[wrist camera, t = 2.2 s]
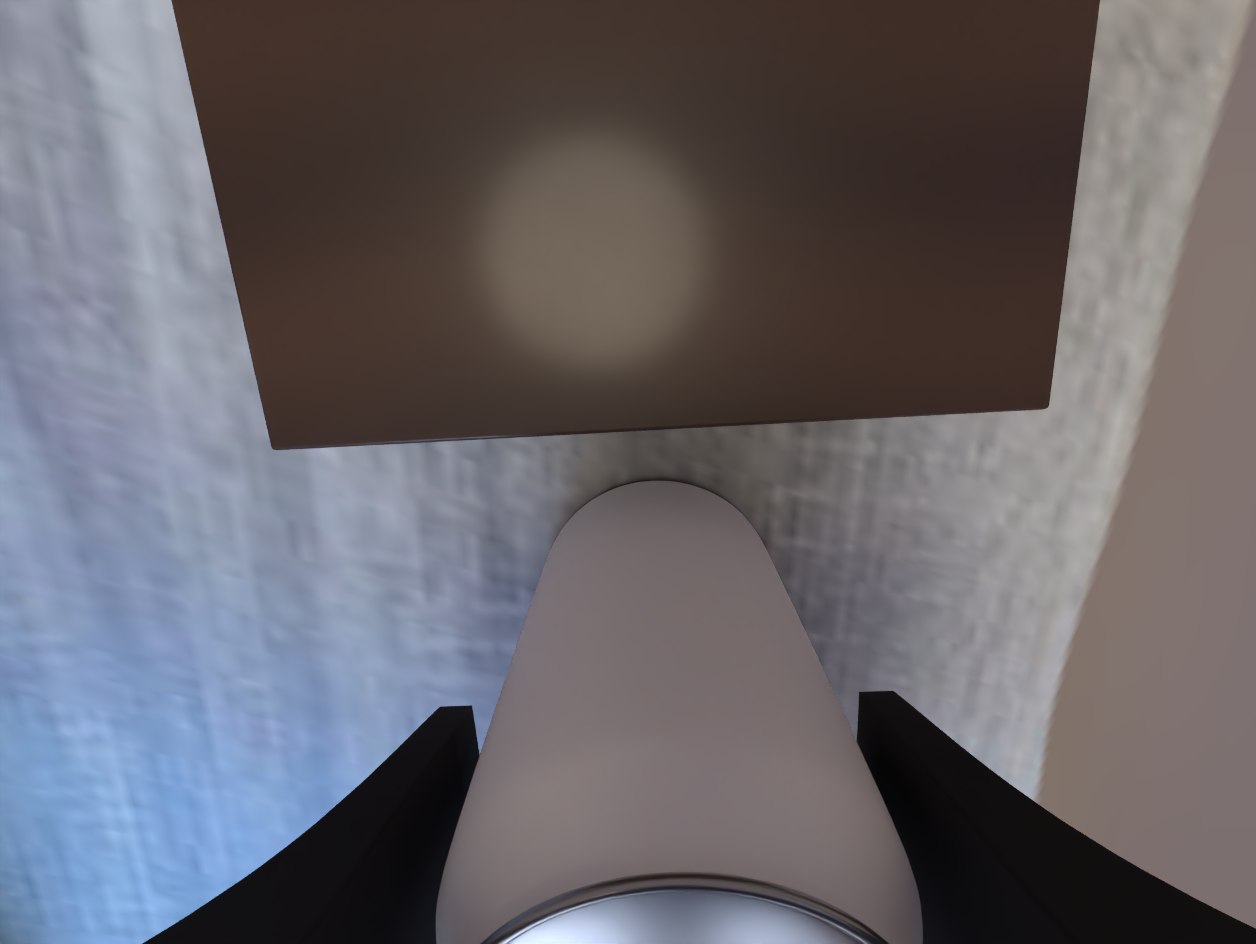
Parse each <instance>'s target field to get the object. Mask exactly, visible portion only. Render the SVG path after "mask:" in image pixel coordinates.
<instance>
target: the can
mask: <svg viewBox="0 0 1256 944" xmlns="http://www.w3.org/2000/svg"><path fill="white" fill-rule="evenodd" d="M436 944H923V925H922V913H921V904H920V897H919V893H918V888H917V885H916V882H915V878H914V875H913V872H912V869H911V866H910V863H909V860H908V857H907V855H906V852H905V849H904V847H903V845H902V842H901V840H900V838H899V835H898V833H897V830H896V828H895V826H894V823H893V821H892V819H891V816H890V814H889V812H888V809H887V807H886V805H885V803H884V801H883V798H882V796H881V794H880V792H879V790H878V787H877V785H876V783H875V781H874V779H873V776H872V774H871V772H870V770H869V768H868V765H867V763H866V761H865V759H864V756H863V754H862V752H861V750H860V748H859V746H858V743H857V741H856V739H855V737H854V735H853V733H852V730H851V728H850V726H849V724H848V722H847V720H846V717H845V715H844V713H843V711H842V709H841V707H840V704H839V702H838V700H837V698H836V696H835V694H834V692H833V689H832V687H831V685H830V683H829V681H828V679H827V676H826V674H825V672H824V670H823V668H822V666H821V664H820V661H819V659H818V657H817V655H816V653H815V651H814V649H813V646H812V644H811V642H810V640H809V638H808V636H807V634H806V631H805V629H804V627H803V625H802V623H801V621H800V619H799V617H798V614H797V612H796V610H795V608H794V606H793V604H792V602H791V600H790V597H789V595H788V593H787V591H786V589H785V587H784V585H783V583H782V581H781V578H780V576H779V574H778V572H777V570H776V568H775V566H774V564H773V562H772V560H771V558H770V556H769V554H768V552H767V550H766V548H765V546H764V544H763V542H762V540H761V538H760V537H759V535H758V533H757V532H756V530H755V529H754V528H753V526H752V525H751V524H750V522H749V521H748V520H747V519H746V518H745V517H744V516H743V515H742V514H741V513H740V512H739V511H738V510H737V509H736V508H735V507H734V506H732V505H731V504H730V503H728V502H727V501H725V500H724V499H722V498H721V497H719V496H717V495H715V494H713V493H711V492H709V491H707V490H704V489H702V488H699V487H696V486H693V485H689V484H685V483H680V482H673V481H644V482H637V483H632V484H627V485H624V486H621V487H618V488H615V489H612V490H610V491H608V492H605V493H603V494H601V495H599V496H598V497H596V498H594V499H593V500H591V501H590V502H588V503H587V504H586V505H584V506H583V507H582V508H581V509H579V510H578V511H577V512H576V513H575V514H574V515H573V516H572V517H571V518H570V519H569V520H568V522H567V523H566V524H565V525H564V527H563V528H562V530H561V531H560V533H559V534H558V536H557V538H556V539H555V541H554V543H553V545H552V547H551V550H550V552H549V555H548V557H547V560H546V562H545V565H544V568H543V571H542V574H541V576H540V579H539V582H538V585H537V588H536V591H535V594H534V597H533V599H532V602H531V605H530V608H529V611H528V614H527V617H526V620H525V623H524V626H523V629H522V632H521V634H520V637H519V640H518V643H517V646H516V649H515V652H514V655H513V658H512V661H511V664H510V667H509V670H508V673H507V676H506V679H505V682H504V685H503V688H502V691H501V694H500V696H499V699H498V702H497V705H496V708H495V711H494V714H493V717H492V720H491V723H490V726H489V729H488V732H487V735H486V738H485V741H484V744H483V747H482V750H481V753H480V756H479V759H478V762H477V765H476V768H475V771H474V774H473V777H472V780H471V783H470V787H469V790H468V793H467V796H466V799H465V802H464V805H463V808H462V811H461V814H460V817H459V820H458V823H457V826H456V830H455V833H454V836H453V840H452V843H451V846H450V850H449V853H448V857H447V860H446V863H445V867H444V871H443V875H442V880H441V885H440V890H439V894H438V900H437V907H436Z"/></svg>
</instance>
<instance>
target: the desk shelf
mask: <svg viewBox="0 0 1256 944" xmlns="http://www.w3.org/2000/svg"><path fill="white" fill-rule="evenodd" d="M1099 3H1100V0H172V5H173V9H174V13H175V18H176V22H177V27H178V31H179V36H180V40H181V45H182V49H183V54H184V58H185V63H186V67H187V72H188V76H189V81H190V85H191V89H192V94H193V98H194V103H195V107H196V112H197V116H198V121H199V125H200V130H201V134H202V139H203V143H204V148H205V152H206V156H207V161H208V165H209V170H210V174H211V179H212V183H213V188H214V192H215V197H216V201H217V206H218V210H219V215H220V219H221V224H222V228H223V232H224V237H225V241H226V246H227V250H228V255H229V259H230V264H231V268H232V273H233V277H234V282H235V286H236V291H237V295H238V299H239V304H240V308H241V313H242V317H243V322H244V326H245V331H246V335H247V340H248V344H249V349H250V353H251V358H252V362H253V366H254V371H255V375H256V380H257V384H258V389H259V393H260V398H261V402H262V407H263V411H264V416H265V420H266V425H267V429H268V434H269V438H270V442H271V447H272V448H273V449H274V450H290V449H309V448H327V447H346V446H365V445H384V444H403V443H421V442H440V441H459V440H478V439H496V438H515V437H534V436H553V435H571V434H590V433H609V432H628V431H647V430H665V429H684V428H703V427H722V426H740V425H759V424H778V423H797V422H815V421H834V420H853V419H872V418H891V417H909V416H928V415H947V414H966V413H984V412H1003V411H1022V410H1041V409H1045V408H1048V406H1049V400H1050V392H1051V384H1052V377H1053V369H1054V361H1055V353H1056V345H1057V337H1058V329H1059V321H1060V313H1061V305H1062V297H1063V289H1064V281H1065V273H1066V265H1067V257H1068V249H1069V241H1070V233H1071V225H1072V217H1073V210H1074V202H1075V194H1076V186H1077V178H1078V170H1079V162H1080V154H1081V146H1082V138H1083V130H1084V122H1085V114H1086V106H1087V98H1088V90H1089V82H1090V74H1091V66H1092V58H1093V50H1094V43H1095V35H1096V27H1097V19H1098V11H1099Z"/></svg>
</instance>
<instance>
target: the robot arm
mask: <svg viewBox="0 0 1256 944" xmlns="http://www.w3.org/2000/svg"><path fill="white" fill-rule="evenodd" d="M857 743H858V746H859V748H860V750H861V752H862V754H863V756H864V759H865V761H866V763H867V765H868V768H869V770H870V772H871V774H872V776H873V779H874V781H875V783H876V785H877V787H878V790H879V792H880V794H881V796H882V798H883V801H884V803H885V805H886V807H887V809H888V812H889V814H890V816H891V819H892V821H893V823H894V826H895V828H896V830H897V833H898V835H899V838H900V840H901V842H902V845H903V847H904V849H905V852H906V855H907V857H908V860H909V863H910V866H911V869H912V872H913V875H914V878H915V882H916V885H917V888H918V893H919V897H920V904H921V913H922V925H923V944H1256V929H1255V928H1253V927H1251V926H1249V925H1247V924H1245V923H1243V922H1241V921H1239V920H1236V919H1234V918H1233V917H1230V916H1229V915H1227V914H1225V913H1222V912H1221V911H1219V910H1217V909H1214V908H1213V907H1211V906H1209V905H1207V904H1205V903H1203V902H1201V901H1199V900H1197V899H1195V898H1193V897H1191V896H1190V895H1188V894H1186V893H1184V892H1182V891H1180V890H1178V889H1177V888H1175V887H1173V886H1171V885H1169V884H1168V883H1166V882H1164V881H1162V880H1160V879H1158V878H1156V877H1155V876H1153V875H1151V874H1149V873H1147V872H1145V871H1144V870H1142V869H1140V868H1139V867H1137V866H1135V865H1133V864H1132V863H1130V862H1128V861H1126V860H1125V859H1123V858H1121V857H1120V856H1118V855H1116V854H1114V853H1113V852H1111V851H1109V850H1108V849H1106V848H1105V847H1103V846H1102V845H1100V844H1098V843H1097V842H1095V841H1094V840H1092V839H1090V838H1089V837H1087V836H1086V835H1084V834H1082V833H1081V832H1079V831H1077V830H1076V829H1074V828H1073V827H1071V826H1069V825H1068V824H1066V823H1065V822H1063V821H1062V820H1060V819H1059V818H1057V817H1056V816H1054V815H1053V814H1051V813H1050V812H1048V811H1047V810H1045V809H1044V808H1043V807H1041V806H1040V805H1038V804H1037V803H1036V802H1034V801H1033V800H1031V799H1030V798H1029V797H1027V796H1026V795H1024V794H1023V793H1022V792H1020V791H1019V790H1017V789H1016V788H1015V787H1013V786H1012V785H1010V784H1009V783H1008V782H1006V781H1005V780H1004V779H1002V778H1001V777H1000V776H998V775H997V774H996V773H994V772H993V771H992V770H990V769H989V768H988V767H986V766H985V765H984V764H983V763H981V762H980V761H979V760H977V759H976V758H975V757H974V756H972V755H971V754H970V753H969V752H967V751H966V750H965V749H964V748H962V747H961V746H960V745H959V744H957V743H956V742H955V741H954V740H952V739H951V738H950V737H949V736H947V735H946V734H945V733H944V732H943V731H941V730H940V729H939V728H938V727H937V726H935V725H934V724H933V723H932V722H931V721H929V720H928V719H927V718H926V717H925V716H923V715H922V714H921V713H920V712H919V711H917V710H916V709H915V708H914V707H913V706H911V705H910V704H909V703H908V702H907V701H905V700H904V699H903V698H902V697H900V696H899V695H898V694H897V693H895V692H894V691H874V692H859V708H858V729H857ZM478 759H479V749H478V742H477V736H476V729H475V723H474V716H473V709H472V706H447V707H439V708H438V709H437V710H436V711H435V712H434V713H433V714H432V715H431V716H430V717H429V718H428V719H427V720H426V721H425V722H424V723H423V724H422V725H421V726H420V727H419V728H418V729H417V730H416V731H415V732H414V733H413V734H412V735H411V736H410V737H409V738H408V739H407V740H406V741H405V742H404V743H403V744H402V745H401V746H400V747H399V748H398V749H397V750H396V751H395V752H393V753H392V754H391V755H390V756H389V757H388V758H387V759H386V760H385V761H384V762H383V763H382V764H381V765H380V766H379V767H378V768H377V769H376V770H375V771H374V772H373V773H372V774H371V775H370V776H368V777H367V778H366V779H365V780H364V781H363V782H362V783H361V784H360V785H359V786H358V787H356V788H355V789H354V790H353V791H352V792H351V793H350V794H349V795H347V796H346V797H345V798H344V799H343V800H342V801H341V802H339V803H338V804H337V805H336V806H335V807H334V808H333V809H332V810H330V811H329V812H328V813H327V814H326V815H325V816H324V817H322V818H321V819H320V820H319V821H318V822H317V823H316V824H314V825H313V826H312V827H311V828H309V829H308V830H307V831H306V832H305V833H303V834H302V835H301V836H300V837H298V838H297V839H296V840H295V841H293V842H292V843H291V844H290V845H288V846H287V847H286V848H284V849H283V850H282V851H280V852H279V853H278V854H276V855H275V856H274V857H272V858H271V859H270V860H268V861H267V862H266V863H264V864H263V865H262V866H260V867H259V868H258V869H256V870H255V871H254V872H252V873H251V874H249V875H248V876H247V877H245V878H244V879H242V880H241V881H239V882H238V883H236V884H235V885H233V886H232V887H230V888H229V889H227V890H226V891H224V892H223V893H221V894H220V895H218V896H217V897H215V898H214V899H212V900H211V901H209V902H208V903H206V904H205V905H203V906H202V907H200V908H199V909H197V910H196V911H194V912H193V913H191V914H190V915H188V916H187V917H185V918H184V919H182V920H180V921H179V922H177V923H176V924H174V925H172V926H171V927H169V928H167V929H166V930H164V931H162V932H161V933H159V934H158V935H156V936H154V937H153V938H151V939H149V940H148V941H146V942H144V943H143V944H436V907H437V900H438V894H439V890H440V885H441V880H442V875H443V871H444V867H445V863H446V860H447V857H448V853H449V850H450V846H451V843H452V840H453V836H454V833H455V830H456V826H457V823H458V820H459V817H460V814H461V811H462V808H463V805H464V802H465V799H466V796H467V793H468V790H469V787H470V783H471V780H472V777H473V774H474V771H475V768H476V765H477V762H478Z"/></svg>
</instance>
